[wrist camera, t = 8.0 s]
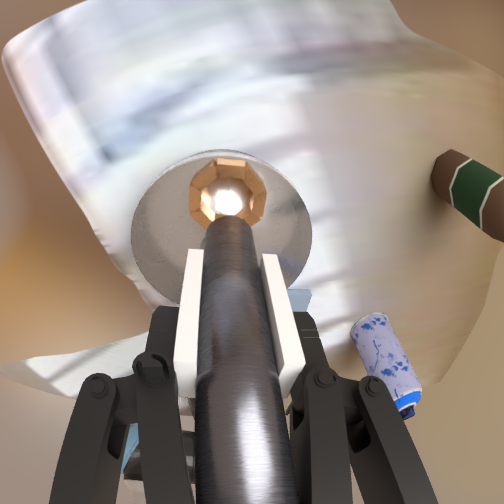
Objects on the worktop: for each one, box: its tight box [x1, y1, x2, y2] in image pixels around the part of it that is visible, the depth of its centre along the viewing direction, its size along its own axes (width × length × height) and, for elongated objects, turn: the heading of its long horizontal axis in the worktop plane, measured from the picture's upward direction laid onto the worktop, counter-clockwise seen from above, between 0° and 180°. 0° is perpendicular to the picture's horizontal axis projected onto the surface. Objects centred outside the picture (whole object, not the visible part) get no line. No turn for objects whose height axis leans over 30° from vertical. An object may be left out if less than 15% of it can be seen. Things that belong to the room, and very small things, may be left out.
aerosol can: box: [351, 312, 422, 421], centre depth 40 cm, size 8×8×20 cm
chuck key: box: [195, 216, 300, 504], centre depth 11 cm, size 3×3×16 cm
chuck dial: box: [131, 152, 312, 304], centre depth 27 cm, size 18×18×4 cm
